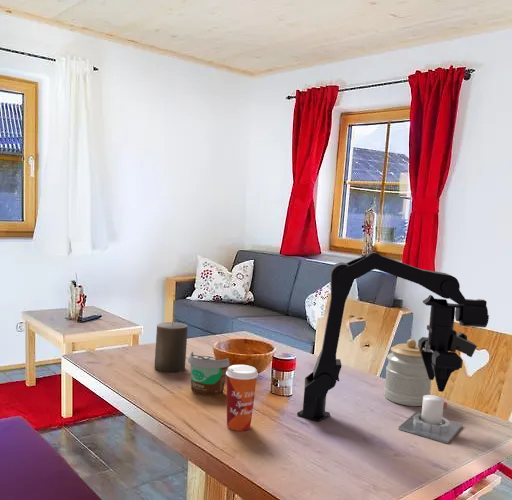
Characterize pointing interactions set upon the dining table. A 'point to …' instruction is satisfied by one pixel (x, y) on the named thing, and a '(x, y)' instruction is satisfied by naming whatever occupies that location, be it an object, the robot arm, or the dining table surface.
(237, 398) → the paper cup
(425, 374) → the jar
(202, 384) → the food container
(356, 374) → the dining table surface
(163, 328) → the pillar candle
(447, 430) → the plate
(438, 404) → the cylinder
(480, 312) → the robot arm
